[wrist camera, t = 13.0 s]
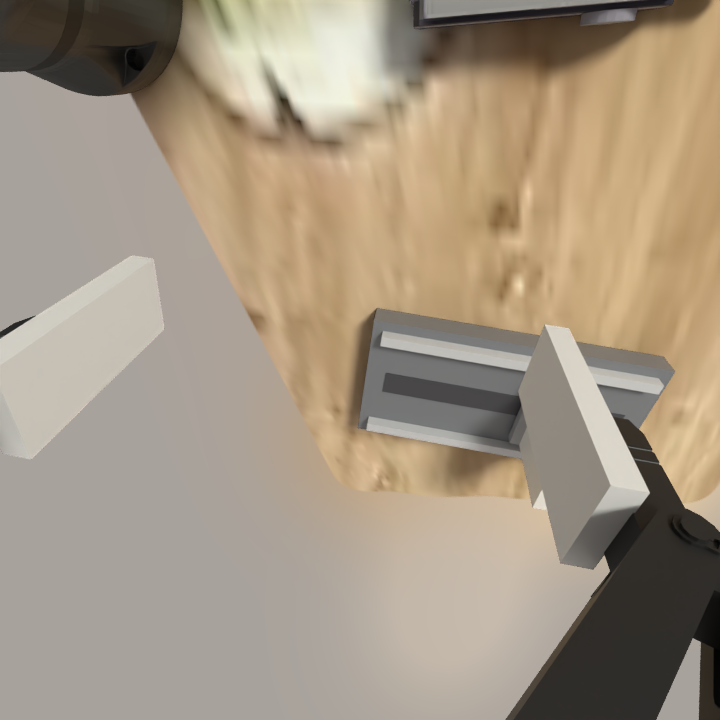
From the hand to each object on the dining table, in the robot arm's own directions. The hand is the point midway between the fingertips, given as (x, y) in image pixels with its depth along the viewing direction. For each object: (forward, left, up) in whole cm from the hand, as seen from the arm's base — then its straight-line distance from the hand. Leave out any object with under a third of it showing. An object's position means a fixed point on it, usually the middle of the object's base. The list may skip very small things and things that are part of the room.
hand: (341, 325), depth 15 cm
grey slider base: (+14, -20, -27) cm, 36 cm away
